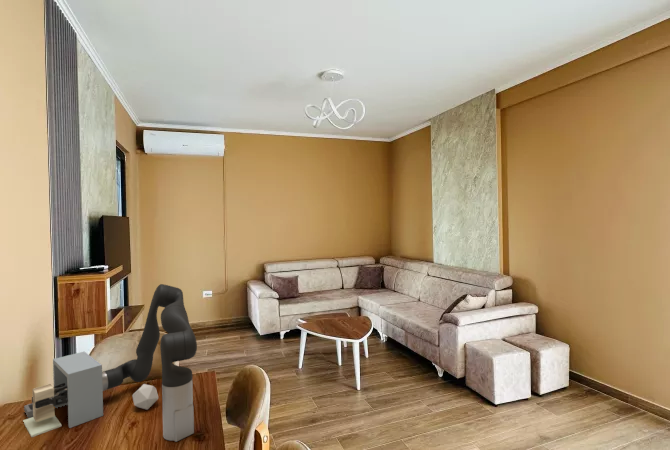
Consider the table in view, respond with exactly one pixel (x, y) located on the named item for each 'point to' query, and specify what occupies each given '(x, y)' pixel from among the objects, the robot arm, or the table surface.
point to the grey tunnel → (80, 386)
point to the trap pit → (29, 410)
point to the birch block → (42, 394)
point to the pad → (41, 425)
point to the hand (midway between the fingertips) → (33, 402)
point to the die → (145, 396)
